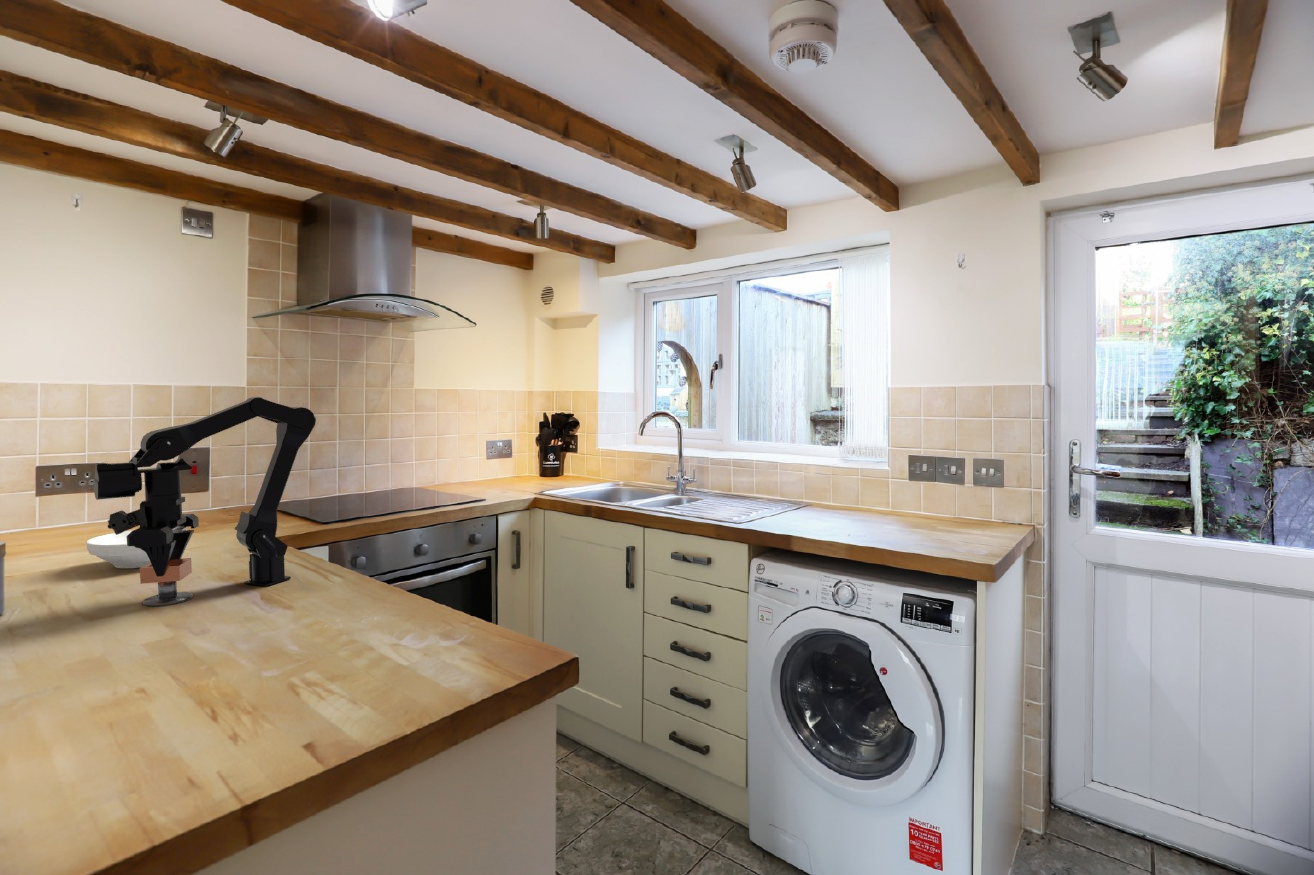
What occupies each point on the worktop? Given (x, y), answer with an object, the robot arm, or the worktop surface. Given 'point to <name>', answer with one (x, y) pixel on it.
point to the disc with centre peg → (167, 595)
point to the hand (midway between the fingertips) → (167, 571)
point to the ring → (167, 571)
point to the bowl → (117, 551)
